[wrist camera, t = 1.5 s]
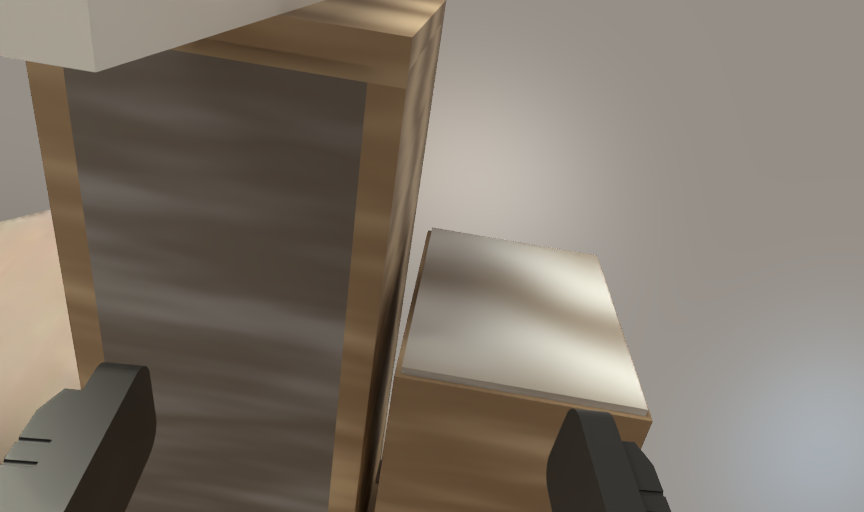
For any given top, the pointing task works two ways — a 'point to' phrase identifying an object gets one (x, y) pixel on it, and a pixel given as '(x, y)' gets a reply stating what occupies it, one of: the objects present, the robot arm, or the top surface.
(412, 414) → the step shelf
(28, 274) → the top surface
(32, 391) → the top surface
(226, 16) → the white long block
